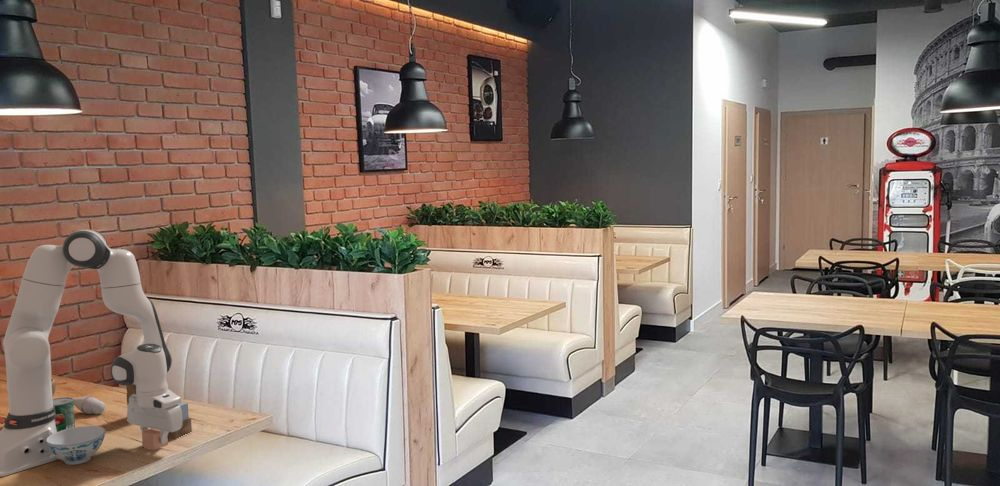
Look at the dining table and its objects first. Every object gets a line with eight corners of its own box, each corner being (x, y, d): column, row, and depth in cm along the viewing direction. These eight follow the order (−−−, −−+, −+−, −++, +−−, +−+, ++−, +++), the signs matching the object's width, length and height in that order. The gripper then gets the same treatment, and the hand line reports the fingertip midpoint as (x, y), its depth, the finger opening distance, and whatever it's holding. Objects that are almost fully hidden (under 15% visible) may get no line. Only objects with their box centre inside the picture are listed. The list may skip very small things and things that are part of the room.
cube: (154, 450, 225) (153, 434, 224) (142, 447, 227) (141, 432, 226) (168, 444, 229) (167, 428, 228) (156, 442, 231) (155, 426, 231)
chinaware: (116, 449, 225) (114, 425, 224) (90, 470, 210) (88, 443, 210) (66, 450, 225) (64, 426, 224) (37, 471, 210) (34, 445, 209)
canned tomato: (43, 439, 234) (41, 406, 233) (51, 431, 242) (49, 398, 241) (71, 437, 236) (69, 403, 235) (78, 428, 244) (76, 396, 243)
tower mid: (175, 423, 234) (175, 407, 233) (164, 421, 236) (163, 405, 235) (188, 418, 238) (187, 403, 238) (177, 416, 240) (176, 401, 240)
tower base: (176, 439, 234) (175, 424, 233) (163, 436, 236) (162, 421, 236) (191, 432, 239) (191, 417, 239) (178, 430, 242) (177, 415, 241)
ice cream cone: (67, 410, 262) (103, 420, 259) (57, 404, 257) (93, 414, 254) (76, 394, 265) (112, 403, 262) (67, 388, 260) (103, 397, 257)
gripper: (120, 396, 228) (123, 439, 229) (167, 404, 219) (170, 449, 221) (137, 390, 233) (140, 432, 235) (184, 398, 225) (187, 442, 226)
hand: (155, 441), depth 228 cm, fingers closed on cube, 5 cm apart
